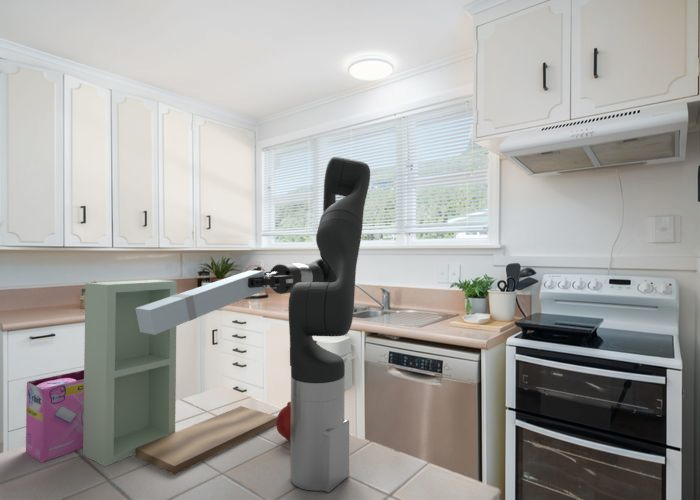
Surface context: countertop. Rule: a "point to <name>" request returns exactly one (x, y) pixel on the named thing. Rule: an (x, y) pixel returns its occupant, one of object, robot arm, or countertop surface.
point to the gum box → (55, 415)
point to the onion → (284, 422)
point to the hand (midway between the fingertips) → (241, 282)
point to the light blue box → (195, 302)
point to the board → (204, 439)
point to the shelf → (126, 371)
